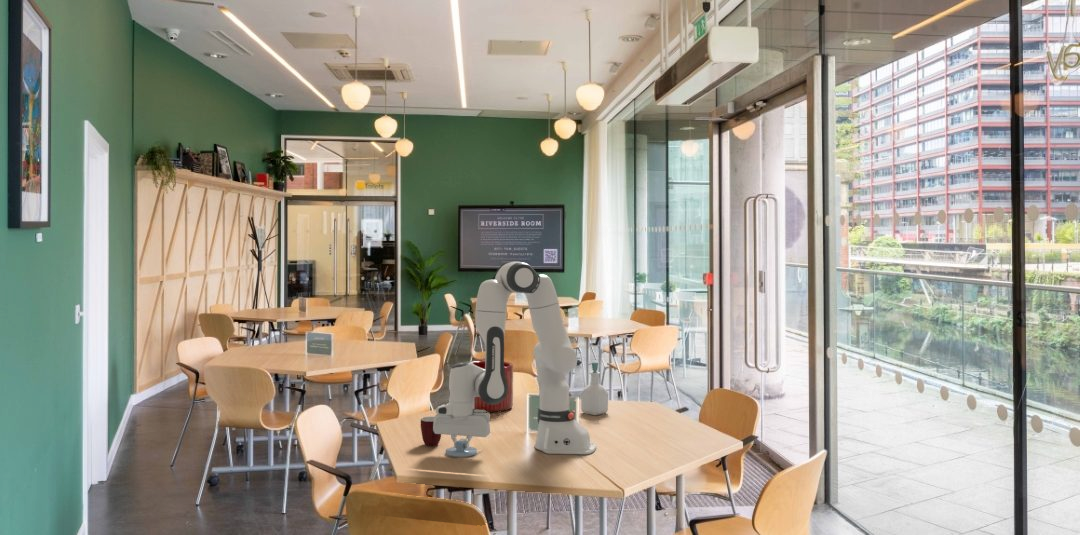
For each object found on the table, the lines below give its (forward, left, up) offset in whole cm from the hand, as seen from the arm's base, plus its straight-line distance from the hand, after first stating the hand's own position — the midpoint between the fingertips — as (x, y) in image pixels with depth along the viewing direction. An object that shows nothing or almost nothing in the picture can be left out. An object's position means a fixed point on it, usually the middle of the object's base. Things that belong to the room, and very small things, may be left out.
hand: (461, 447), depth 252 cm
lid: (0, 0, -2) cm, 2 cm away
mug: (+14, -7, -3) cm, 16 cm away
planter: (+15, -76, -3) cm, 77 cm away
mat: (0, 0, -3) cm, 3 cm away
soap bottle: (-34, -79, -3) cm, 86 cm away
